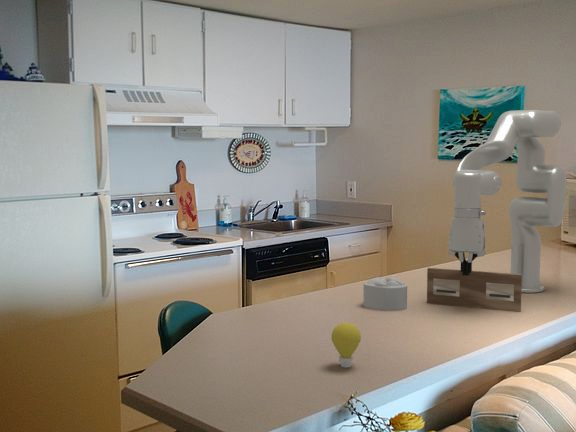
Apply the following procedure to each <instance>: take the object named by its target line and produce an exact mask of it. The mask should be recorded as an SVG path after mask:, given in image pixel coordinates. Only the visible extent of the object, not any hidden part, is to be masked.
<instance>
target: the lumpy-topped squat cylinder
mask: <svg viewBox="0 0 576 432" xmlns="http://www.w3.org/2000/svg"><path fill="white" fill-rule="evenodd" d="M363 308H365V309H370V310H371V309H372V310H377V311H383V312H384V311H387V312H388V311H390V312H391V311H392V312H393V311H395V312H398V311H405V310H407V309H408V285H407V284H406V283H404V282H402V281H401V280H400V279H398V278H395V277H393V276H388V277H386V278H384V277H379V276H378V277H377V276H376V277H374V278H372V279H369V280H368V281H367V282H364V283H363Z"/></svg>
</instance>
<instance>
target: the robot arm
mask: <svg viewBox="0 0 576 432" xmlns="http://www.w3.org/2000/svg"><path fill="white" fill-rule="evenodd" d="M561 120H562V119H561V117H560V115H559V114H558V113H557V112H556V111H555V110H540V109H521V110H519V109H518V110H517V109H516V110H508V111H504V112H502V114H500V116H499V117H498V118H497V120H496V123H495V124H494V127H493V128H492V130H491V132H490V134H489V136H488V138H487V139H486V141H485V142H484V143H483V144H480V145H479V146H478V147H475V148H474V149H473V150H471V151H470V152H469V153H468V154H466V155H465V156H464V157H463V158H462V159H461V160H460V162H459V164H458V166H457V168H456V170H455V172H454V174H453V178H452V186H453V187H452V188H453V190H454V203H453V204H454V206H453V207H454V209H453V210H454V211H453V213H454V214H453V217H451V220H450V225H449V226H450V227H449V233H448V251H447V253H448V255H451V256H455V257H456V259H458V260H459V262H460V270H461V272H462V275H463V276H464V275H466V276H468V275H469V274H470V273H471V272H472V271H473V270H472V268H473V267H472V266H473V261H474V260H475V259H476V258H481V257H484V256H486V252H485V248H486V230H485V229H486V228H485V221H484V218H482V216H486V213H487V212H486V210H484V209H482V207H481V201H482V196H493V195H496V194H497V193H498V192H499V191H500V190H501V187H502V179H501V176H500V174H498V173H497V172H496V171H493V170H487V169H484V170H483V168H485V167H488V166H490V165H495V164H497V163H500V162H503V161H505V160H507V159H508V158H509V157H511V155H512V154H513V151H514V149H515V147H516V149H517V162H516V163H517V165H516V175H515V176H516V177H515V178H516V180H515V181H516V182H515V183H516V188H517V189H518V191H520V192H523V193H528V194H529V193H531V194H546V195H547V197H539V196H538V197H537V196H519V197H515V198H514V199H513V200H511V202H510V204H509V206H508V213H509V221H510V226H511V228H510V230H511V231H510V232H511V236H510V237H511V239H510V240H511V243H510V245H511V246H510V274H522V290H521V293H525V294H526V293H530V294H531V293H534V294H535V293H541V292H544V291H545V286H544V285H542V284H540V279H541V278H540V277H541V252H542V251H541V250H542V249H541V248H542V237H541V235H540V232H539V231H538V229H537V228H536V227H546V228H548V227H549V228H555V227H559V226H560V225H562V223H563V220H564V216H565V207H566V206H565V205H566V197H567V196H566V195H567V194H566V193H567V175H566V171H565V169H564V168H563V167H562V166H560V165H557V164H545V156H546V155H545V153H546V151H545V147H544V145H543V143H542V142H541V140H540V139H539V138H553V137H555V136H557V135H558V133H559V132H560V129H561V126H562V121H561ZM466 253H468V255H467V259H466V255H465V254H466Z"/></svg>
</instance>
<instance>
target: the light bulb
mask: <svg viewBox="0 0 576 432" xmlns="http://www.w3.org/2000/svg"><path fill="white" fill-rule="evenodd" d="M330 337H331V338H330V339H331V342H332V344H333V345H334V348H335V350H336V351H337V353H338V354H339V355H338V362H339V363H340V367H342V368H346V369H347V368H350V367H352V363H354V357H353V354H354V353H355V351H356V350H357V348H358V347H359V345H360V342H361V340H362V337H361V332H360V329H359V328H358V327H357V326H356V325H355V324H353V323H351V322H345V321H344V322H341V323H338V324H337V325H336V326H335V327H334V328H333V329H332V332H331V336H330Z"/></svg>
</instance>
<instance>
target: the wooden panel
mask: <svg viewBox="0 0 576 432" xmlns="http://www.w3.org/2000/svg"><path fill="white" fill-rule="evenodd" d="M426 270H427V271H426V278H427V279H426V281H427V282H426V304H433V305H444V306H454V307H465V308H466V307H467V308H477V309H487V310H498V311H499V310H500V311H509V312H510V311H511V312H519V313H521V311H522V292H521V290H522V274H510V273H508V272H496V271H495V272H494V271H480V270H472V272H471V273H470V274H469V275H468V276H466V275H464V276H463V275H462V272H461V269H451V268H449V269H448V268H437V267H428V268H427V269H426Z"/></svg>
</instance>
